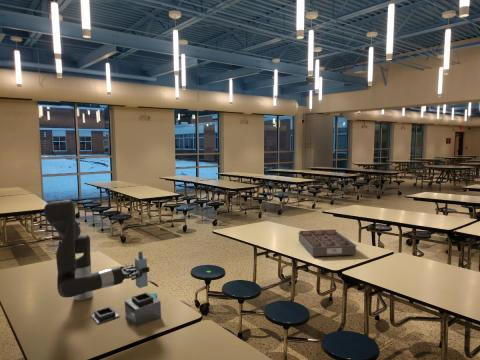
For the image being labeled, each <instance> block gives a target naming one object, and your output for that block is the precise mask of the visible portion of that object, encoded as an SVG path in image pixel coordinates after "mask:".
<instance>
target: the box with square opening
mask: <svg viewBox="0 0 480 360" xmlns="http://www.w3.org/2000/svg"><path fill="white" fill-rule="evenodd" d="M151 294H152V293H149V292H143V293H140V294H136V295H133V296H131V298H129V299H126V300H124V311H125V312H124V313H125V318H126V319H127V320H128V321H129V322H130V323H131V324H132V325H134V326H135V327H139V326H140V327H141V326H142V325H145V324H149V323H151V322H153V321H156V320H159V319H161V318H162V305H161V303H162V302H161V300H160V299H158V298H157V299H156V298H155V297H154V296H152V295H151Z"/></svg>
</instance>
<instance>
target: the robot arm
mask: <svg viewBox="0 0 480 360" xmlns="http://www.w3.org/2000/svg"><path fill="white" fill-rule="evenodd" d="M43 214H44V217H45V219H46V222H47V223H48V224H49V225H50V226H51V227H52V228H54V230H55V231H56V232H57V234H58V235H59V237H60V238H61V241H60V243H59V245H58V246H57V250H56V254H55V255H56V257H55V258H56V260H55V261H56V269H57V280H56V281H57V282H56V283H57V285H56V287H57V288H56V289H57V293H58V295H59V296H60V297H62V298H66V299H67V298H73V299H74V300H75V301H85V300H88V299H89V300H90V299H91V298H92V297H93V296H94V291H97V290H101V289H106V288H110V287H113V286H118V285H120V284H123V282H124V280H126V279H130V280H131V281H134V280H135V281H136V279H137V278H139V277H141V276H142V274H143V273H146V272H147V273H149V272H150V267H149V266H147V267H145V268H142V269H135V264H129V265H128V264H127V265H121V266H114V267H110V268H106V269H101V270H100V271H95V272H92V262H91V261H92V260H91V239H90V238H91V237H90V236H89V234H82V235H81V231H82V230H81V227H80V225H79V223H78V222H77V221H76V207H75V204H74V202H73V200H72V199H63V200H57V201H56V200H55V201H50V202H47V203H46V204H45V205H44V208H43ZM76 254H82V255H81V256H79V257H77V256H76Z"/></svg>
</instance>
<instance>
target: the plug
mask: <svg viewBox="0 0 480 360" xmlns="http://www.w3.org/2000/svg"><path fill="white" fill-rule="evenodd" d="M137 254H138V257H134V266H135V269H142V268H145V267H148V258H146V257H145V256H144V255H143V251H141V250H140V251H139V250H138V253H137ZM148 279H149V278H148V272H146V273H143V274H142V276H141V277H139V278H137V279H135V286H136V287H137V288H138V289H140V288H145V287H148V286H149V283H148Z"/></svg>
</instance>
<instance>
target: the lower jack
mask: <svg viewBox="0 0 480 360" xmlns="http://www.w3.org/2000/svg"><path fill="white" fill-rule="evenodd" d="M93 312H94V313H92V314H90V317H91V318H92V319H93V321H95V323H96V324H97V325H99V324H103V323H106V322H109V321H112V320H115V319H118V318H120V317H121V316H120V314H119V313H117V312H116V311H115V310H114V309H113V308H112V307H111V306H107V307H104V308H99V309H97V310H94V311H93Z"/></svg>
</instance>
